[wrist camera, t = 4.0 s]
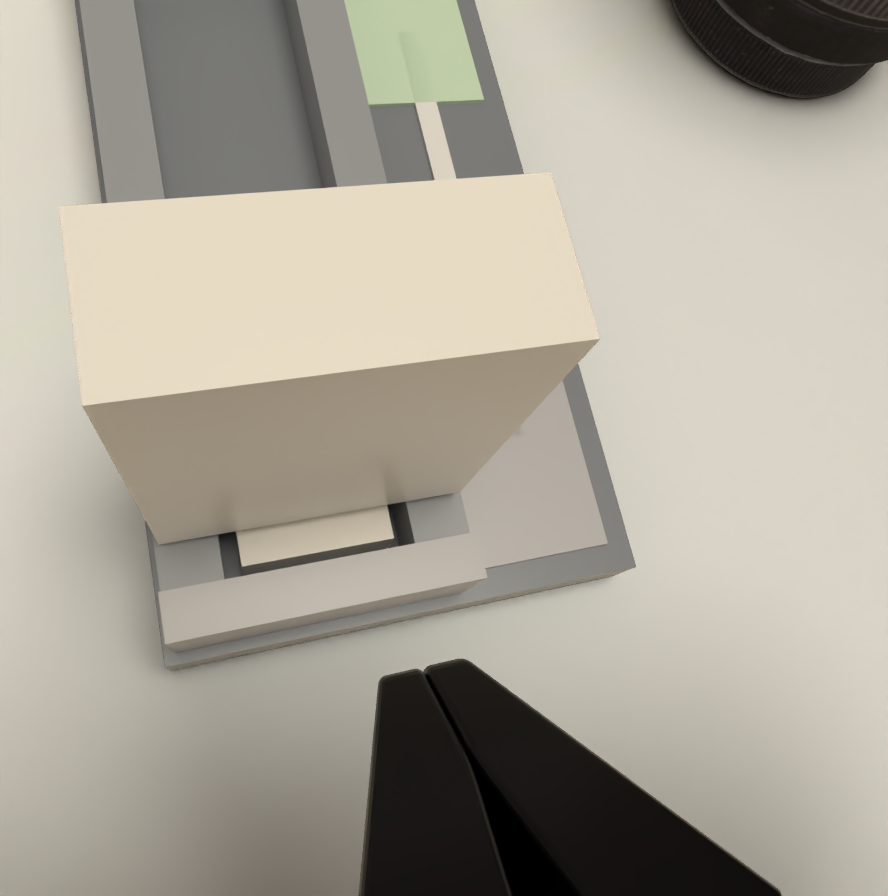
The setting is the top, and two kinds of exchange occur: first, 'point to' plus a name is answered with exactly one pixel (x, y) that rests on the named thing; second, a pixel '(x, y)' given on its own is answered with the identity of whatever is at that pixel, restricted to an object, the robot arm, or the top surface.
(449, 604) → the switch board
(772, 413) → the top surface
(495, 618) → the top surface
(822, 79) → the camera lens
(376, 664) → the top surface
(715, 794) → the top surface
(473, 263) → the slider tab
